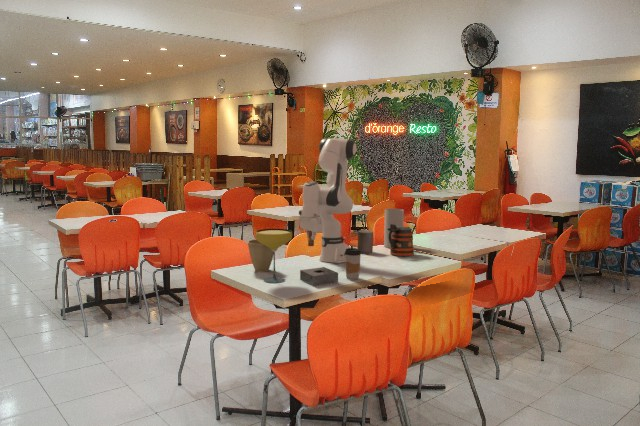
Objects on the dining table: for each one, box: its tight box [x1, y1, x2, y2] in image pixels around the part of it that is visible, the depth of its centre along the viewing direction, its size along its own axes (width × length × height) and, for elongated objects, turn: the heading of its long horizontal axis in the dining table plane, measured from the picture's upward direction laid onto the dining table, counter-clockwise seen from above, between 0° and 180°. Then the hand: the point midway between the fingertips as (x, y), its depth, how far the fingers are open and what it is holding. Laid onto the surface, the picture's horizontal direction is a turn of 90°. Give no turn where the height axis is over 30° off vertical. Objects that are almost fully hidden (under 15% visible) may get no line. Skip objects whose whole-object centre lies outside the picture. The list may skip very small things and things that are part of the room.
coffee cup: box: [344, 247, 362, 281], centre depth 271 cm, size 8×8×15 cm
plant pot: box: [247, 238, 274, 273], centre depth 288 cm, size 15×15×16 cm
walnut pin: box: [307, 230, 315, 247], centre depth 280 cm, size 3×3×10 cm
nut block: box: [299, 266, 339, 287], centre depth 266 cm, size 14×14×5 cm
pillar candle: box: [357, 229, 374, 255], centre depth 336 cm, size 10×10×15 cm
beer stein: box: [388, 224, 415, 257], centre depth 329 cm, size 19×15×20 cm
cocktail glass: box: [255, 228, 293, 284], centre depth 266 cm, size 18×18×25 cm
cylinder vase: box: [383, 208, 405, 249], centre depth 354 cm, size 12×12×25 cm
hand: (311, 238), depth 280 cm, fingers closed on walnut pin, 3 cm apart
